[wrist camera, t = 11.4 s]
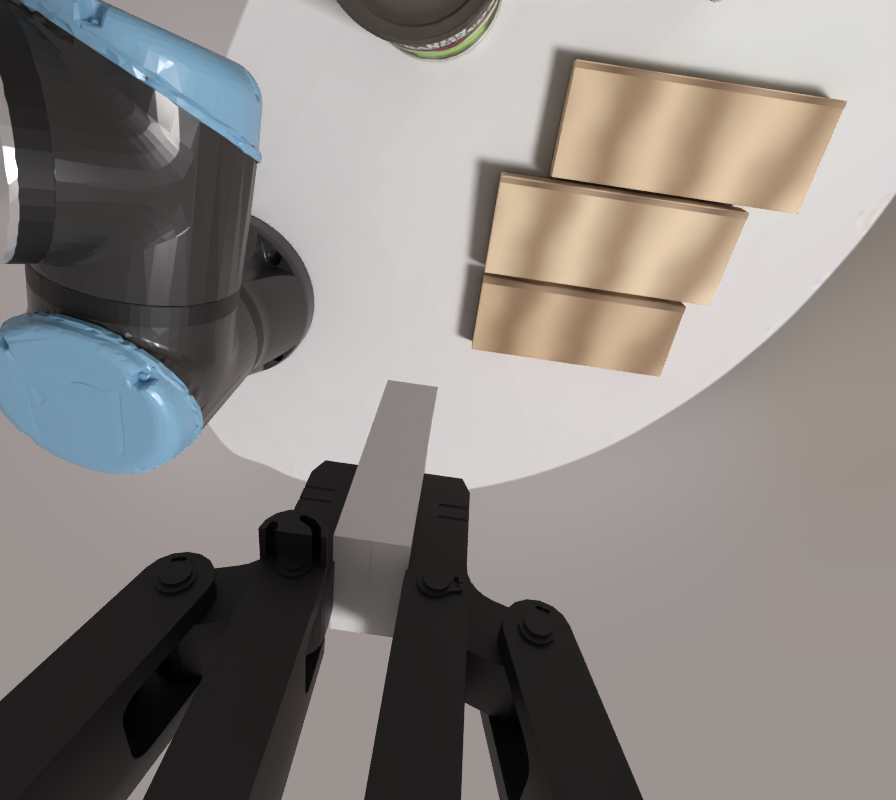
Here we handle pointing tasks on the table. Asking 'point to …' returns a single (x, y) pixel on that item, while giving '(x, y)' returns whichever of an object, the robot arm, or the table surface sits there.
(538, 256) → the plank
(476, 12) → the coffee can
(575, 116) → the plank
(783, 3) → the table surface
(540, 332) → the laid board
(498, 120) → the table surface
